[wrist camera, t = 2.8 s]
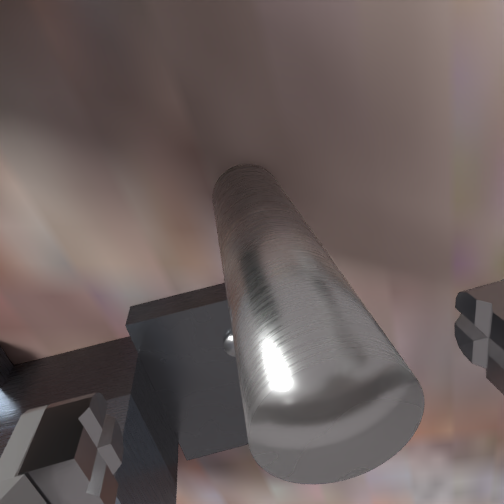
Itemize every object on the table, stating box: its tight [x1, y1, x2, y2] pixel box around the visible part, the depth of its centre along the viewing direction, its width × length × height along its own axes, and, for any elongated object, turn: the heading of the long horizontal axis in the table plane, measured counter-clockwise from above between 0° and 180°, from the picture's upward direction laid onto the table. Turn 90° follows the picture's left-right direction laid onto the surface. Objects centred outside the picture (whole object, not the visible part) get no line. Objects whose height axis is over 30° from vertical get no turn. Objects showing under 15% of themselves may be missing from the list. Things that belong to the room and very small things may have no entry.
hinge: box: [0, 283, 249, 504], centre depth 17 cm, size 23×10×8 cm, turn 102°
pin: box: [213, 164, 424, 484], centre depth 12 cm, size 3×3×12 cm
